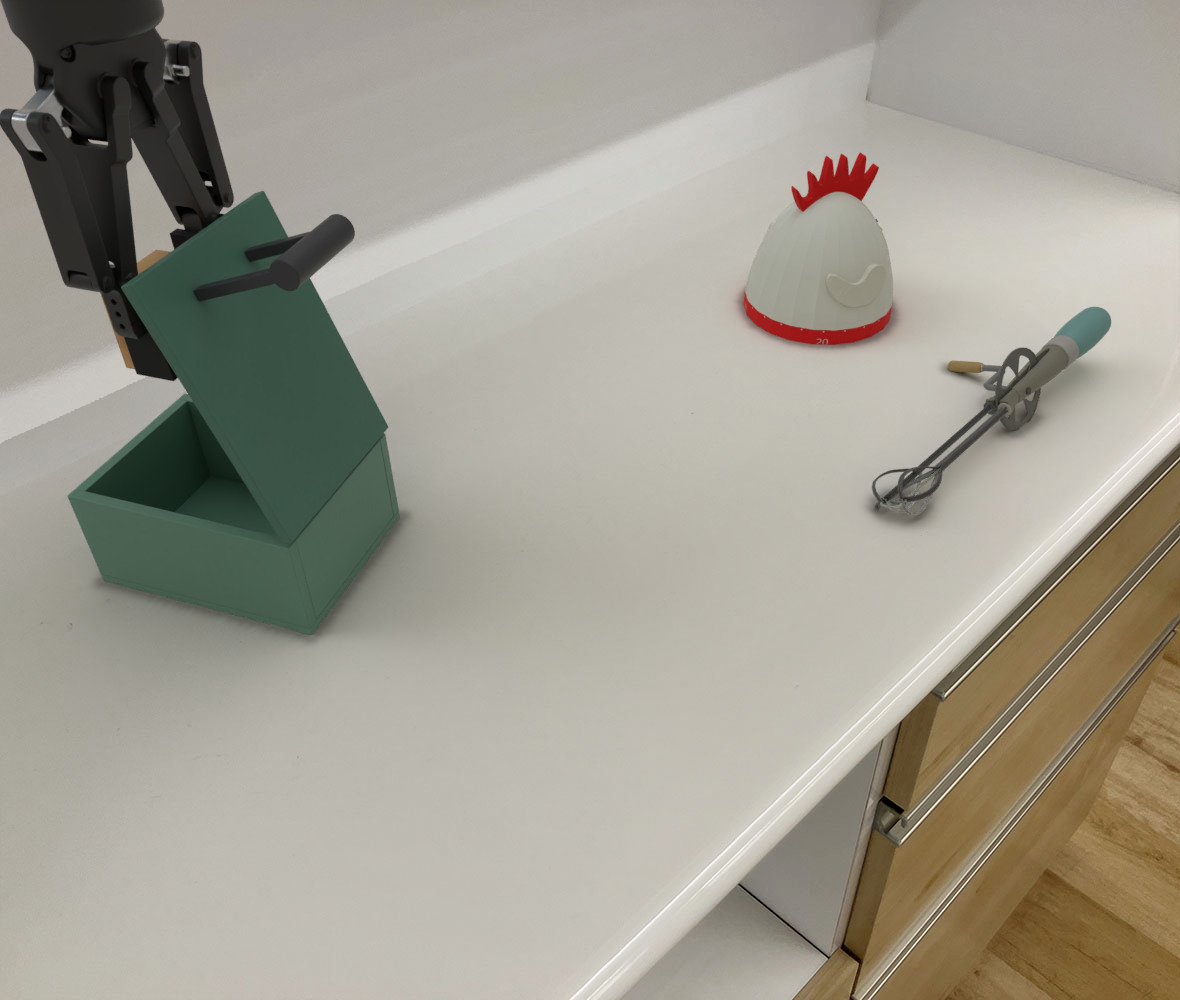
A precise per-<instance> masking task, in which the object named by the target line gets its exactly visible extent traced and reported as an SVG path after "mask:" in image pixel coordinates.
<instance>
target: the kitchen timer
mask: <svg viewBox="0 0 1180 1000" xmlns="http://www.w3.org/2000/svg"><path fill="white" fill-rule="evenodd" d="M866 166H867V156H866V155H865V154H863V153H862V152H858V155H857V156H856V159H855V161H854V164H853V165H852V168H851V171H850V170H849V167H850V166H849V159H848V157H847V156H846V155H844V153H840V155H839V159H838V162H837V166H836V170H835V169H834V168H835V167H834V161H833V158H831V157H830V156H828V155H825V156H824V160H823V163H822V167H821V170H820V175H819V178H818V179H817V176H816V174H814V173H813V172H812V171H810V170H807V172H806V179H807V186H808V188H807V193H806V194H803V195H802V194H801V193H800V191H799V190H798V189H797V188H796V187H795V186H793V185H791V187H790V188H791V194H792V197H793V202H791V204H790V205H788V206H787V207H786V208H785V209H784V210H783V212H781V213H780V214H779V216H778V217H777V218H776V219H775V220H774V221H773V222H771V223H770V224H769V225H768V229H767V231H766V233H765V234H764V236H763V238H762V240H761V242H760V244H759V247H758V249H757V252H756V254H755V257H754V259H753V261H752V263H751V266H750V268H749V272H748V276H747V281H746V284H745V287H744V288H745V289H744V295H743V296H744V297H743V307H744V311H745V314H746V316H747V318H749V319H750V321H752V322H753V323H754V325H756V326H757V327H758V328H759V329H762V330H763V331H765V332H767V333H768V334H770V335H773V336H776V337H779V338H782V339H784V340H788V341H790V342H795V343H801V344H808V345H823V346H824V345H825V346H835V345H845V344H853V343H856V342H859V341H862V340H866V339H870V338H872V337H874V336H875V335H877V334H878V333H879V332H881V331H882V330H884V329H885V327H886V326H887V325H888V323H889V322H890V320H891V314H892V311H893V310H892V308H893V302H894V277H893V269H892V263H891V256H890V250H889V246H888V243H887V239H886V237H885V234H884V232H883V228H882V227H881V226H880V224H879V221H878V219H877V218H876V217H875V216H874V215H873V213H872V211H871V209H869V208H868V206H867V205H866V204H865V203H864V202H863V199H864V198H865V196H866V194H867V193H868V191H869V189H870V188H871V186H872V184H873V182H874V180H875V179H876V176H877V175H878V173H879V169H880V166H879V165H877V164H875V163H874V162H873V163H871V165H870V166H869V167H868V169H867V170H866ZM834 170H835V171H834Z"/></svg>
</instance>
